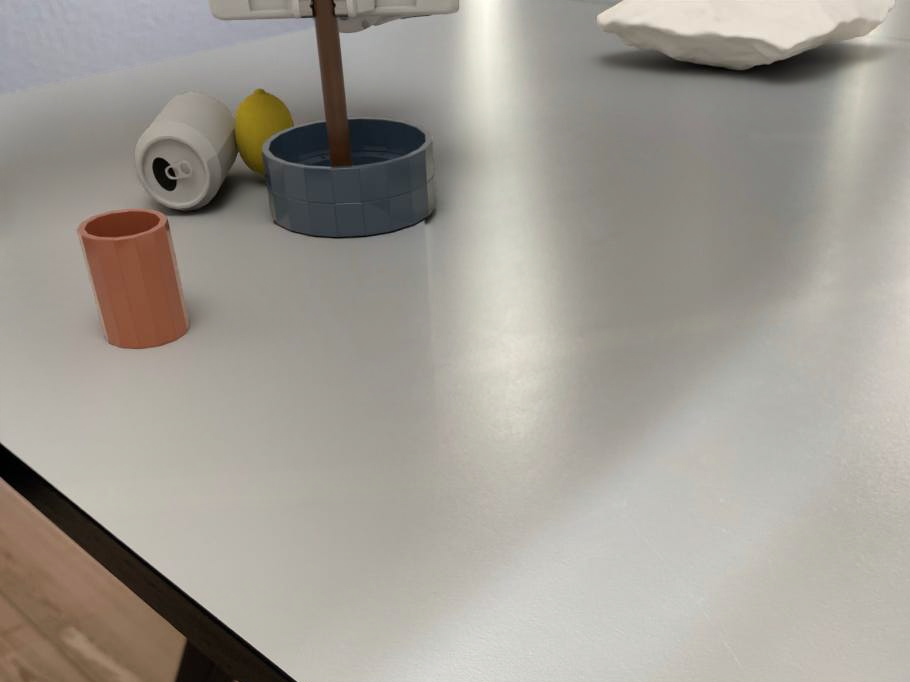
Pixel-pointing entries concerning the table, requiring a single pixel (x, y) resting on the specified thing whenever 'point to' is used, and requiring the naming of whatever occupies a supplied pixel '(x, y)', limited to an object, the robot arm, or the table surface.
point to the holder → (134, 277)
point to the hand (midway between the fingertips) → (323, 5)
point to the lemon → (259, 126)
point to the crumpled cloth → (740, 27)
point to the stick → (332, 82)
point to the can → (187, 151)
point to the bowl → (351, 178)
